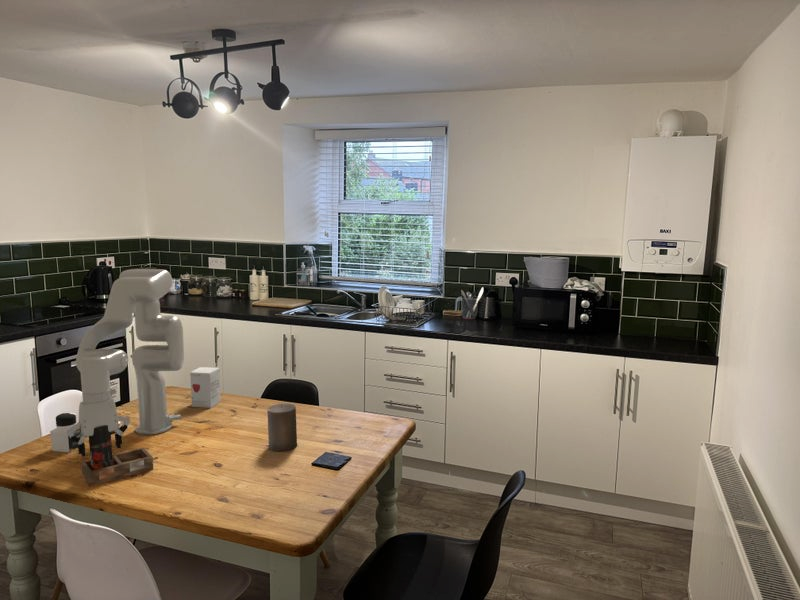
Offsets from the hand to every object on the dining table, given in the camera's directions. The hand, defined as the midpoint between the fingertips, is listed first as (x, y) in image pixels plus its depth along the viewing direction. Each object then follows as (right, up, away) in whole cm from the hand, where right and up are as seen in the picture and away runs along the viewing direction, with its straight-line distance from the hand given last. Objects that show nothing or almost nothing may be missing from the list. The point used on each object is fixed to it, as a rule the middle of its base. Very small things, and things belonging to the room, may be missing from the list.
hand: (101, 451), depth 174 cm
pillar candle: (+50, -5, +24) cm, 56 cm away
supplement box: (+9, +1, +69) cm, 69 cm away
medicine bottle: (-23, -5, +22) cm, 32 cm away
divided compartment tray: (+3, -7, +4) cm, 9 cm away
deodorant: (0, -7, +1) cm, 7 cm away
